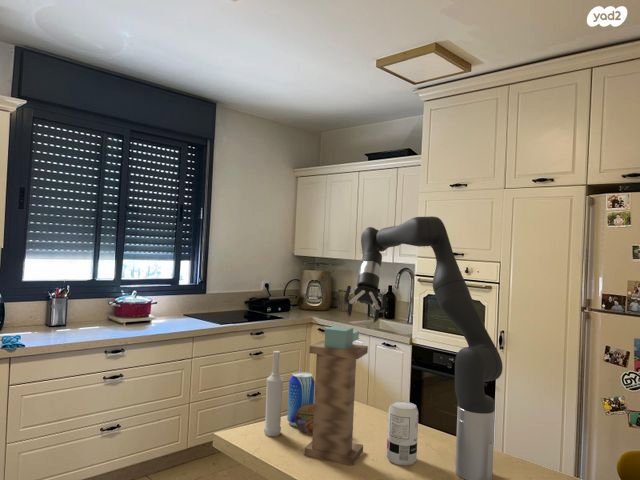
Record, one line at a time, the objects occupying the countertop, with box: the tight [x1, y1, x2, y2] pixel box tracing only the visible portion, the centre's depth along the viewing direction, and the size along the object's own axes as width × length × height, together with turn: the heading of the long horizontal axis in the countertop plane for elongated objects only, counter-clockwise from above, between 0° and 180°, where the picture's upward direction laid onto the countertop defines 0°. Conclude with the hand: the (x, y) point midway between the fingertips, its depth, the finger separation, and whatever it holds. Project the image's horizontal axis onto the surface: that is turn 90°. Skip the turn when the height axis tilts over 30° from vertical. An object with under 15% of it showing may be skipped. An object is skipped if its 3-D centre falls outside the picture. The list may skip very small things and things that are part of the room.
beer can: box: [286, 371, 315, 428], centre depth 153 cm, size 8×8×16 cm
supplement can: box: [386, 400, 419, 466], centre depth 129 cm, size 8×8×15 cm
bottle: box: [263, 350, 284, 437], centre depth 144 cm, size 5×5×25 cm
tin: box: [295, 404, 314, 434], centre depth 147 cm, size 15×3×8 cm, turn 84°
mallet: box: [324, 325, 360, 349], centre depth 137 cm, size 6×19×5 cm, turn 159°
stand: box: [303, 340, 369, 467], centre depth 131 cm, size 14×10×30 cm
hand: (362, 318), depth 154 cm, fingers open, 8 cm apart
